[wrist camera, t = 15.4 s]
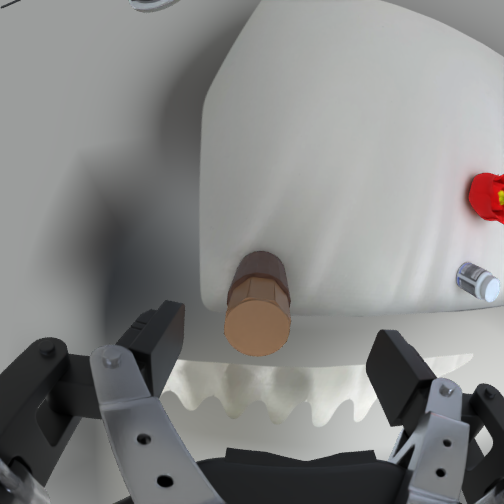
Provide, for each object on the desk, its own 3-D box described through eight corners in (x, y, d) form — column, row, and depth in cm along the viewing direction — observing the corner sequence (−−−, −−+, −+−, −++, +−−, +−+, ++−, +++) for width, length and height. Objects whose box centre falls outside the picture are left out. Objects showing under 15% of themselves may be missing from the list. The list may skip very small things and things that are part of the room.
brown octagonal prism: (230, 322, 30) (222, 352, 25) (235, 274, 29) (227, 296, 23) (281, 329, 30) (283, 359, 24) (290, 281, 29) (295, 304, 23)
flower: (493, 207, 34) (522, 213, 26) (468, 225, 35) (498, 233, 28) (481, 166, 33) (511, 166, 25) (456, 182, 34) (487, 183, 26)
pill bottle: (470, 287, 38) (497, 304, 30) (453, 287, 38) (480, 305, 30) (475, 262, 37) (504, 276, 29) (458, 261, 37) (488, 275, 29)
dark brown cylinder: (234, 293, 40) (219, 344, 27) (239, 248, 39) (224, 281, 25) (281, 299, 40) (286, 352, 26) (288, 254, 38) (298, 291, 25)
